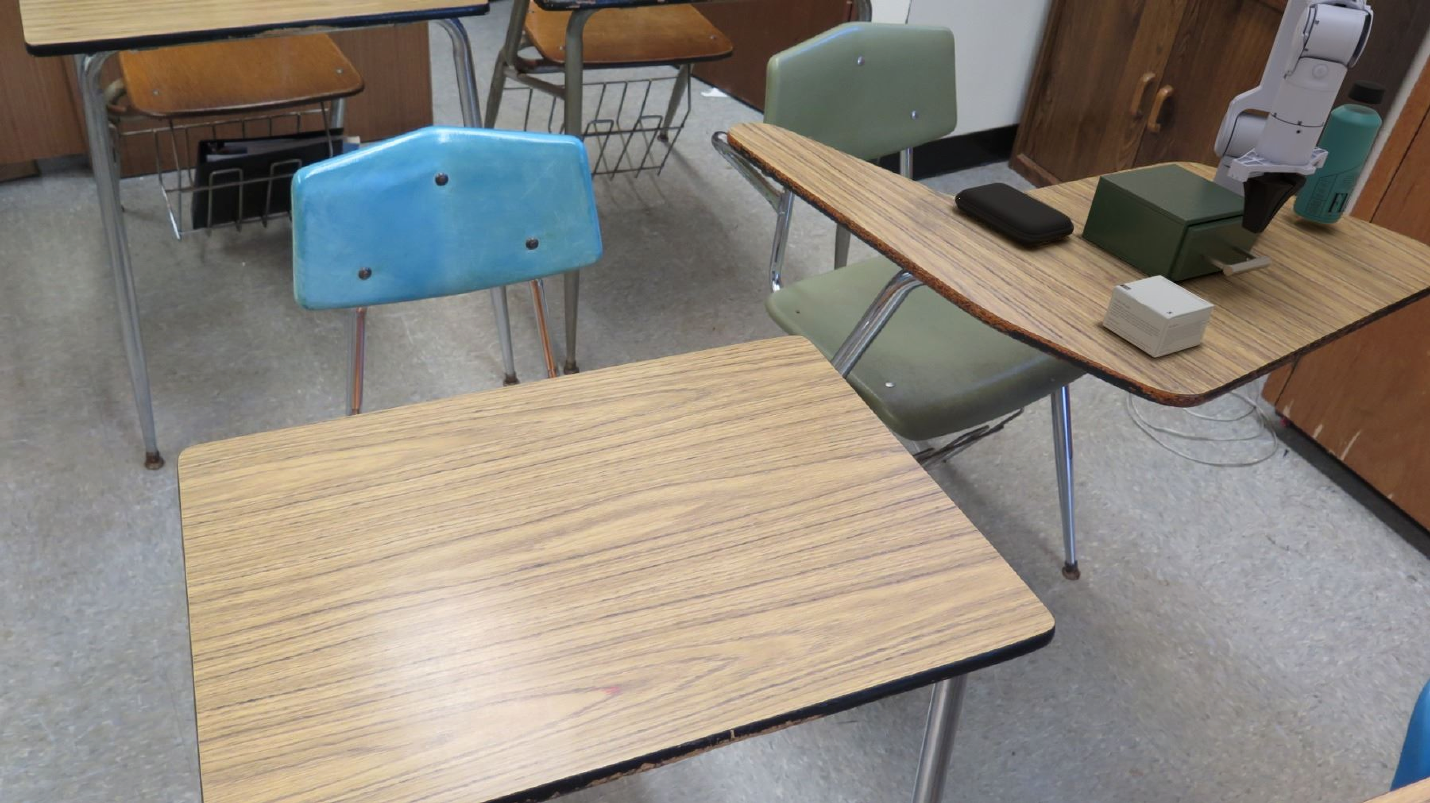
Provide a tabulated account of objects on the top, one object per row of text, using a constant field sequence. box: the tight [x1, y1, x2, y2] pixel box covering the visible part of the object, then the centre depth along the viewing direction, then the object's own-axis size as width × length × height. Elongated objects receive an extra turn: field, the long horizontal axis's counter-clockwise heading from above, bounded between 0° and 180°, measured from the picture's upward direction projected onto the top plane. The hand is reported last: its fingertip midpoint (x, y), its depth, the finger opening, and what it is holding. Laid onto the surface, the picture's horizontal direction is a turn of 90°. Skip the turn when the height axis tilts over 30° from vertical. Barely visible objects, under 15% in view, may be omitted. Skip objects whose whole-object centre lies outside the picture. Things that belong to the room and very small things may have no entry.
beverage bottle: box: [1292, 79, 1387, 225], centre depth 146 cm, size 6×7×20 cm
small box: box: [1102, 275, 1215, 358], centre depth 119 cm, size 8×8×5 cm
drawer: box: [1170, 214, 1272, 282], centre depth 134 cm, size 18×13×7 cm
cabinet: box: [1081, 163, 1244, 283], centre depth 137 cm, size 14×14×8 cm
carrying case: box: [954, 182, 1075, 248], centre depth 142 cm, size 11×3×15 cm
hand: (1252, 229), depth 127 cm, fingers closed
